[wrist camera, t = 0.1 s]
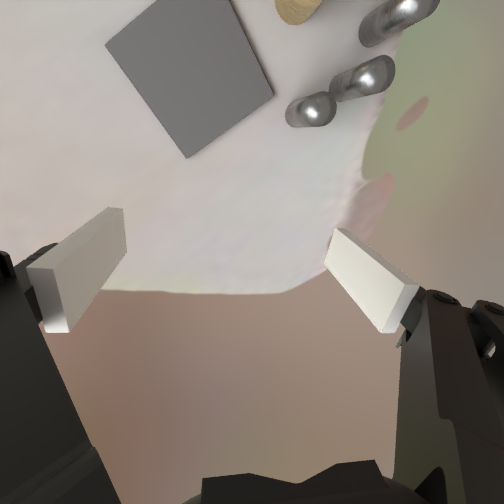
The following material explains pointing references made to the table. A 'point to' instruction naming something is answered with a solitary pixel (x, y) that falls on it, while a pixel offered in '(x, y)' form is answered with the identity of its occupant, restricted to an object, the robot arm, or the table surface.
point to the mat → (191, 68)
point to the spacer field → (367, 74)
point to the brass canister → (296, 10)
